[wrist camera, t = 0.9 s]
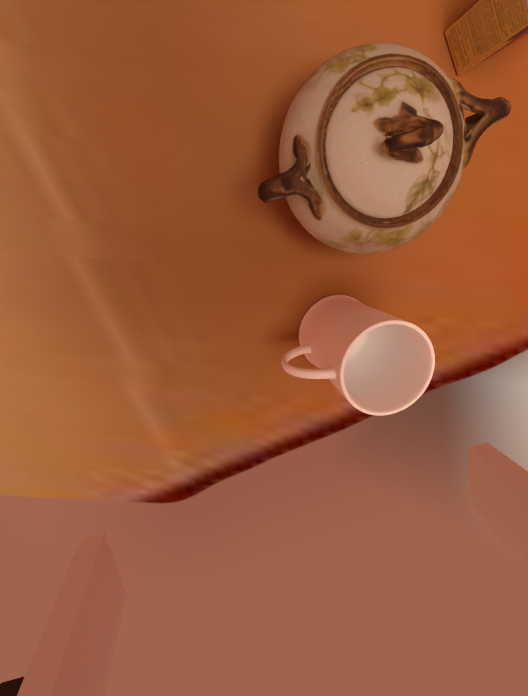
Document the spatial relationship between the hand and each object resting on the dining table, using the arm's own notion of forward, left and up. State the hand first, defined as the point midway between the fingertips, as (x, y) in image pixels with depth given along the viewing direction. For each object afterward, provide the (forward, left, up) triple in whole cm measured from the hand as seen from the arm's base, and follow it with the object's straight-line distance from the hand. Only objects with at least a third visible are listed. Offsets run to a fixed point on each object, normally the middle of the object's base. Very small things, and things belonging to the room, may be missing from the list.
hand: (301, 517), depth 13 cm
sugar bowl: (-14, +12, -27) cm, 33 cm away
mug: (+2, +9, -27) cm, 28 cm away
